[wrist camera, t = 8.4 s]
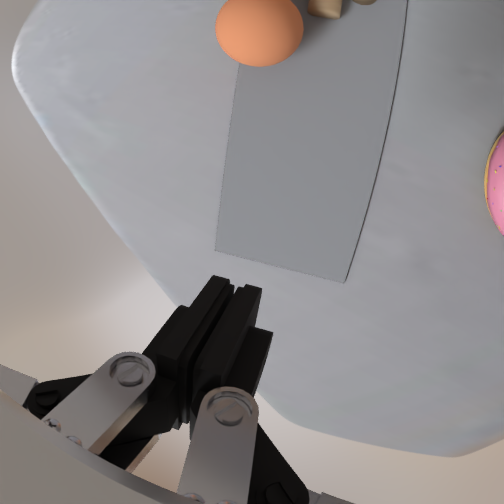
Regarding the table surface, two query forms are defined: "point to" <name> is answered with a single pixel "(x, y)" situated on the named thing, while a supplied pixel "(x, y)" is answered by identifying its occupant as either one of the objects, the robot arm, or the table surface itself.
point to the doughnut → (495, 183)
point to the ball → (259, 30)
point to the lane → (311, 142)
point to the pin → (364, 2)
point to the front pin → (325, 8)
